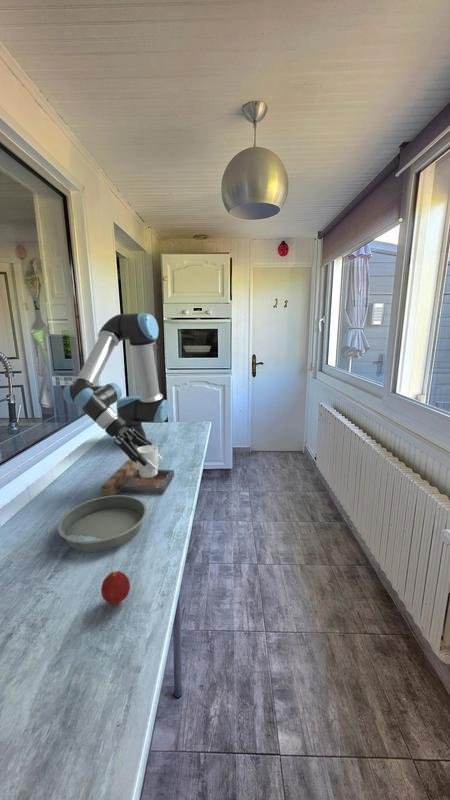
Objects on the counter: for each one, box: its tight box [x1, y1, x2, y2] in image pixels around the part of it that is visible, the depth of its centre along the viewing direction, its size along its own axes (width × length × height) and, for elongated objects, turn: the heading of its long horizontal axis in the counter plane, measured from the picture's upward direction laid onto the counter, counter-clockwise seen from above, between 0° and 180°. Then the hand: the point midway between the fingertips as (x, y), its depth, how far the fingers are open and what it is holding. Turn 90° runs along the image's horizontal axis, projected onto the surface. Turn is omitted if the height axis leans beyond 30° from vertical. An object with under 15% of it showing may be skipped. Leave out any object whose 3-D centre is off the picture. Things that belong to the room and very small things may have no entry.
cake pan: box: [57, 494, 148, 553], centre depth 99 cm, size 25×25×4 cm
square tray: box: [122, 468, 175, 495], centre depth 127 cm, size 15×15×2 cm
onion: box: [100, 570, 131, 605], centre depth 72 cm, size 6×6×8 cm
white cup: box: [136, 444, 159, 478], centre depth 125 cm, size 8×8×10 cm
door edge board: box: [101, 457, 139, 497], centre depth 128 cm, size 26×3×5 cm, turn 174°
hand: (157, 465), depth 125 cm, fingers closed on white cup, 8 cm apart
